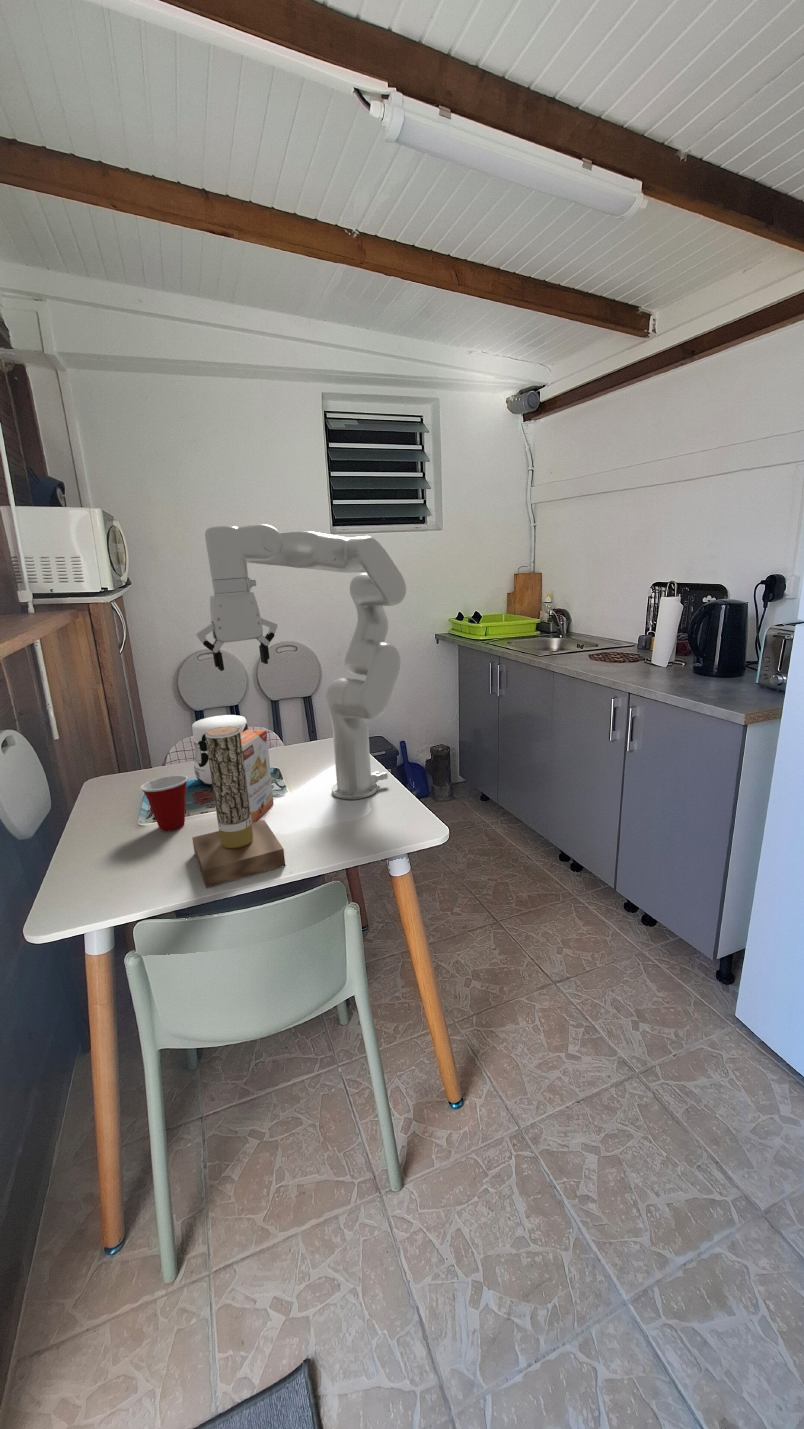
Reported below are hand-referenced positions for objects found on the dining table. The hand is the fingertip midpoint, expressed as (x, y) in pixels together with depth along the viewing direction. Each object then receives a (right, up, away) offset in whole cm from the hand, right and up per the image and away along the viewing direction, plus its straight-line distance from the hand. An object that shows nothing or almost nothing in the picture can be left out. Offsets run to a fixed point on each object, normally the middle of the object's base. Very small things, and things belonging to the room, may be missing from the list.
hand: (243, 666), depth 123 cm
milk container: (-18, -30, +44) cm, 56 cm away
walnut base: (0, -42, -3) cm, 42 cm away
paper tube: (0, -38, -4) cm, 38 cm away
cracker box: (-3, -36, +19) cm, 41 cm away
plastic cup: (-22, -38, +15) cm, 47 cm away
